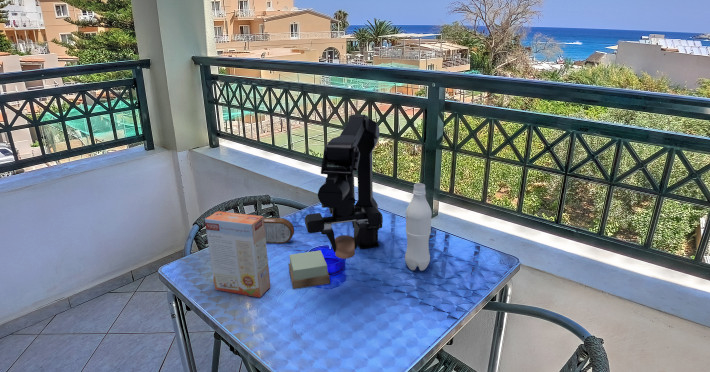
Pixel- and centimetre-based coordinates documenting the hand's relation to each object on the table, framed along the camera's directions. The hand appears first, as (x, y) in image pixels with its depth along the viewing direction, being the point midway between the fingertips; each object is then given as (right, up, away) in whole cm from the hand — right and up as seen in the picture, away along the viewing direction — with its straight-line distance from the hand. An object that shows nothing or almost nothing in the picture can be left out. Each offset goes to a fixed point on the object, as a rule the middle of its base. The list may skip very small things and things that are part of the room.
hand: (344, 249), depth 107 cm
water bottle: (+21, -7, +15) cm, 26 cm away
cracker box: (-27, -11, +6) cm, 30 cm away
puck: (0, -1, 0) cm, 1 cm away
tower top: (-10, -7, +10) cm, 16 cm away
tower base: (-10, -10, +11) cm, 18 cm away
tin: (-25, -3, +32) cm, 40 cm away
